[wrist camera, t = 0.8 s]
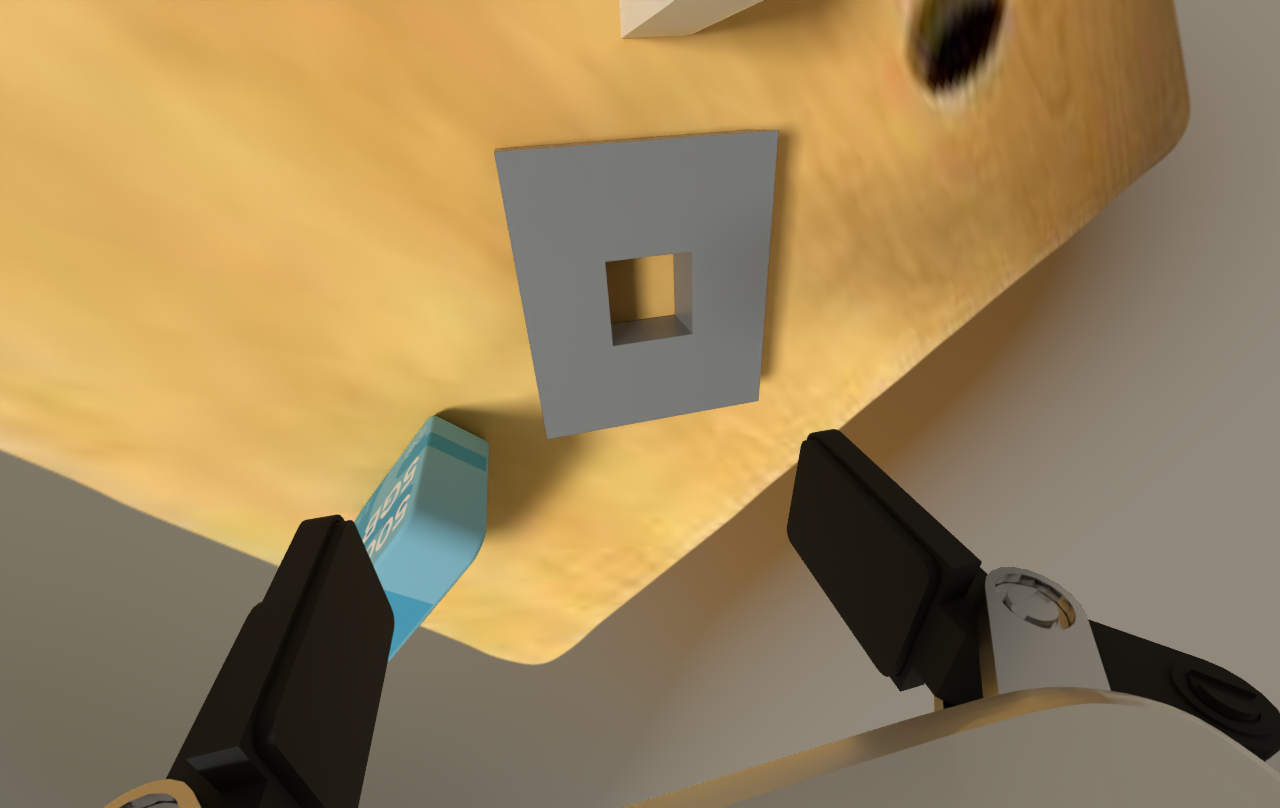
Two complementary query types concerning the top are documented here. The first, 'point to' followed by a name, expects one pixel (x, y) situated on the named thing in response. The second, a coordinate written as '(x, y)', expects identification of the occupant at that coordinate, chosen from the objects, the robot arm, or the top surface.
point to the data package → (427, 521)
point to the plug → (675, 16)
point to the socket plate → (633, 228)
